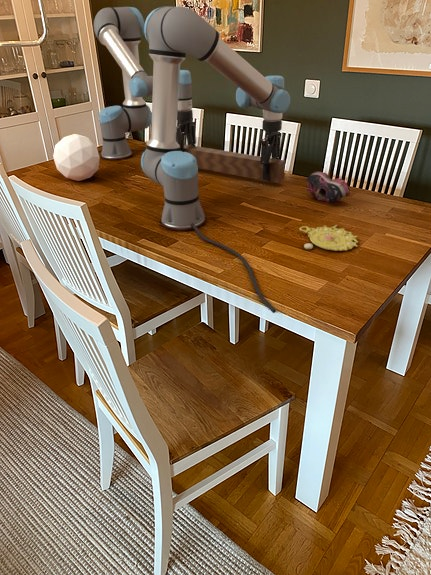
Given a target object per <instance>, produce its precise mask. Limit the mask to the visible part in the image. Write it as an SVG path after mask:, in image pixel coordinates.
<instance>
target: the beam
mask: <svg viewBox="0 0 431 575" xmlns="http://www.w3.org/2000/svg"><path fill="white" fill-rule="evenodd" d="M184 150H185V152H187V153H190V154H192V155H193V156H194V157H195V158H196V161H197V166H198V169H201V170H207V171H213V172H218V173H223V174H228V175H234V176H239V177H245V178H250V179H254V180H260V181H265V182H270V183H277V184H279V183H281V182H282V181H284V180H285V172H286V168H285V167H286V160H284V159H273V158H271V157H270V161H269V164H270V175H269V181H268V180H263V164H260V159H261V155H253V154H247V153H241V152H234V151H228V150H222V149H218V148H217V149H216V148H211V147H203V146H198V145H195V146H192V145H188V144H186V143H184Z"/></svg>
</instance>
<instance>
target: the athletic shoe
mask: <svg viewBox="0 0 431 575" xmlns="http://www.w3.org/2000/svg"><path fill="white" fill-rule="evenodd" d="M306 185H307V187H308V189H304V191H306V192H310V193H311V194H312V196H313V198H317V200H318V201H319V202H327V203H333V202H336V201H338V200H341V199H345V198H347V197H349V196H350V195H351V192H350V190H351V189H350V186H349V184H348V182H345V180H344V179H342V178H340V177H339V178H338V177H336V178H334V179H333V178H330V176H329V175H328V174H327V173H326V172H323V171H314V172H312V173H311V174H310V175H309V176H308V177H307V178H306Z"/></svg>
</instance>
